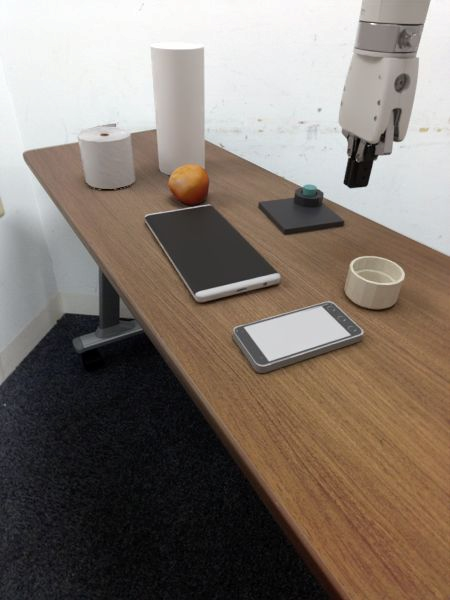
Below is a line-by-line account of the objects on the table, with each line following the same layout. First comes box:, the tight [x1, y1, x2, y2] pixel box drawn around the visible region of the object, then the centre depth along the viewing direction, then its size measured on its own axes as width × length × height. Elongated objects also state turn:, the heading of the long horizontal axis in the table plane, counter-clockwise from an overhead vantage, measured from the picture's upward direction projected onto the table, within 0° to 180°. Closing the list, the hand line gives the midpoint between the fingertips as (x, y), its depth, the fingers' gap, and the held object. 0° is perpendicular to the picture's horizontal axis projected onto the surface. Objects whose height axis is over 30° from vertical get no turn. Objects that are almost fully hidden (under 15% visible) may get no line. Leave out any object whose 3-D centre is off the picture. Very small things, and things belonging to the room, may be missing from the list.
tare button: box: [302, 184, 318, 196], centre depth 82 cm, size 3×3×2 cm
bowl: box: [344, 255, 406, 310], centre depth 59 cm, size 7×7×4 cm
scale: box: [257, 187, 345, 236], centre depth 80 cm, size 12×12×3 cm
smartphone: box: [232, 300, 364, 374], centre depth 53 cm, size 7×1×15 cm
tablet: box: [144, 204, 282, 303], centre depth 69 cm, size 13×27×2 cm, turn 24°
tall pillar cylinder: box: [150, 41, 206, 176], centre depth 93 cm, size 11×11×25 cm
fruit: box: [168, 164, 210, 206], centre depth 84 cm, size 8×8×8 cm
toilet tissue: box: [76, 122, 137, 188], centre depth 90 cm, size 11×12×10 cm
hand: (355, 185), depth 63 cm, fingers closed
